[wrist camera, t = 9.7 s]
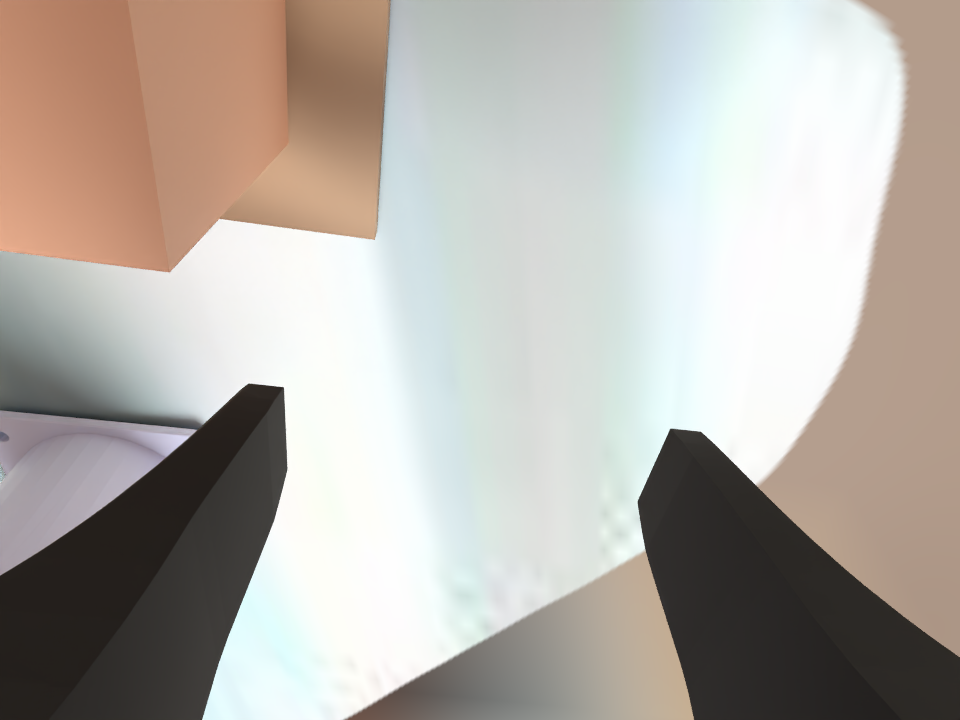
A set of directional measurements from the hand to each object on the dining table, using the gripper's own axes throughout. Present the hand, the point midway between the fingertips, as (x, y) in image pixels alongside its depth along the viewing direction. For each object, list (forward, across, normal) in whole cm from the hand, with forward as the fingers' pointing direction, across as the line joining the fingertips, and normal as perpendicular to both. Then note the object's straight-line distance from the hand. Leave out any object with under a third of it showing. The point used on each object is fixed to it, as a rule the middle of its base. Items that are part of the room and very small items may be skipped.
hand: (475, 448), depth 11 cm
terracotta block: (+9, +8, -5) cm, 13 cm away
